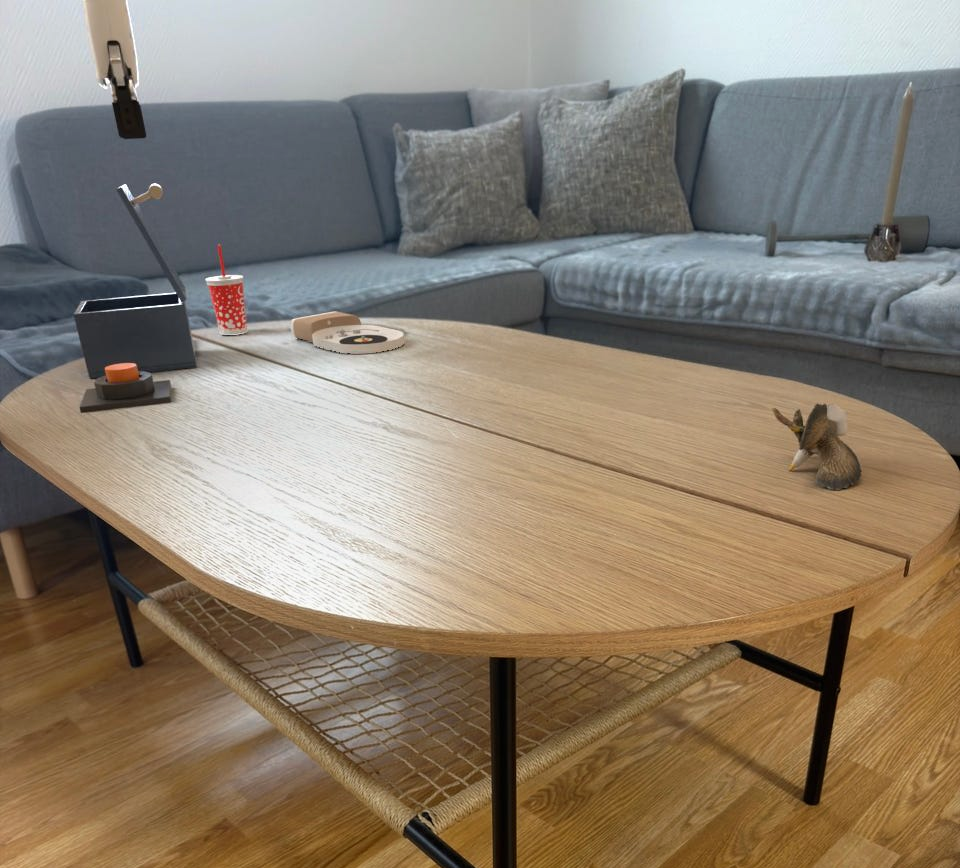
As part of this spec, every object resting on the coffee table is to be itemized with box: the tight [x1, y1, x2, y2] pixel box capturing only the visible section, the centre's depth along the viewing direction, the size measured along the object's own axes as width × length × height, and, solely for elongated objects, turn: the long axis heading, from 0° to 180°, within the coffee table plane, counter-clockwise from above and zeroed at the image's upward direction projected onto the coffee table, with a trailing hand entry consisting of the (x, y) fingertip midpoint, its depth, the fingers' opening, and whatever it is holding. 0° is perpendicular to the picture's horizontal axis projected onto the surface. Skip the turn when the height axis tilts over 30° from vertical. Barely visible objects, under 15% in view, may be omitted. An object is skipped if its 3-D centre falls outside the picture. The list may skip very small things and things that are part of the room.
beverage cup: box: [205, 244, 248, 335], centre depth 144 cm, size 6×6×14 cm
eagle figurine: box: [771, 402, 862, 491], centre depth 76 cm, size 8×7×9 cm
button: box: [105, 363, 139, 382], centre depth 104 cm, size 4×4×2 cm
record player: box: [290, 310, 405, 355], centre depth 136 cm, size 12×3×20 cm
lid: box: [115, 183, 187, 302], centre depth 123 cm, size 16×13×5 cm
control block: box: [79, 371, 172, 414], centre depth 105 cm, size 10×9×4 cm
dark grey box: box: [72, 292, 198, 380], centre depth 127 cm, size 15×13×9 cm
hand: (133, 138), depth 116 cm, fingers open, 9 cm apart
